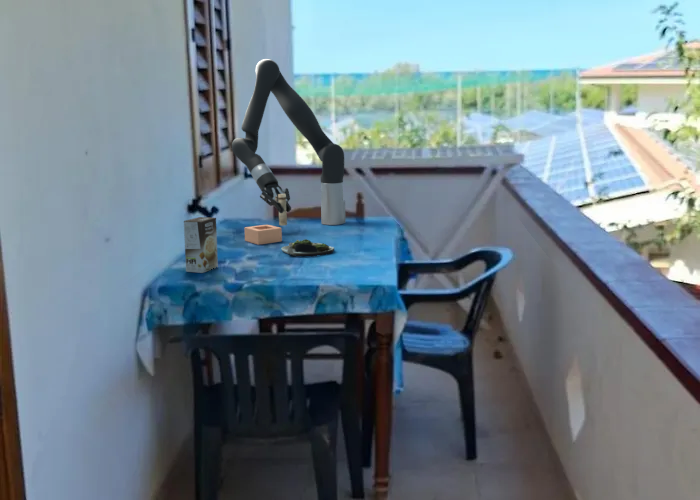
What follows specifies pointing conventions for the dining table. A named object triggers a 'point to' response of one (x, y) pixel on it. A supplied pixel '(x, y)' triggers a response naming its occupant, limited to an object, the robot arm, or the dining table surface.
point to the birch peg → (284, 215)
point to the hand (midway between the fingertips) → (286, 211)
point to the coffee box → (200, 244)
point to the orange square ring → (263, 234)
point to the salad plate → (307, 248)
